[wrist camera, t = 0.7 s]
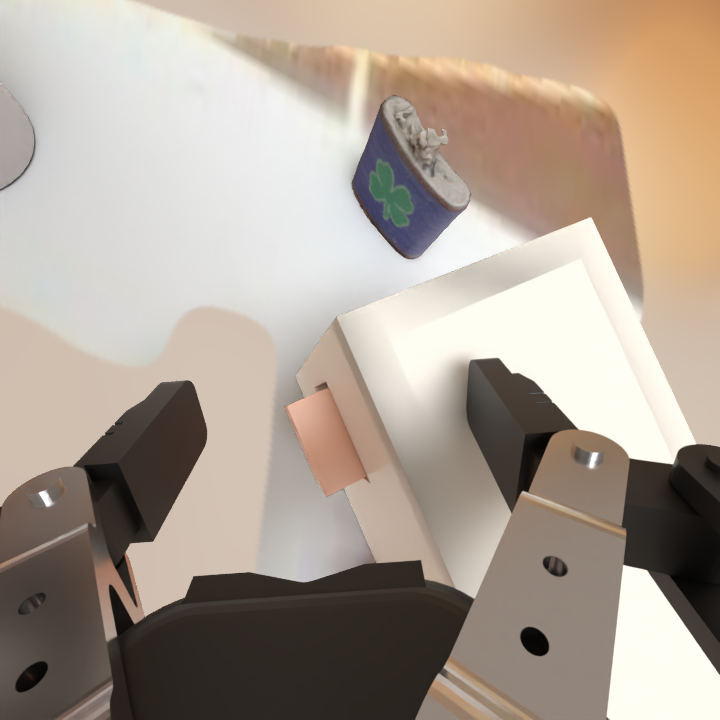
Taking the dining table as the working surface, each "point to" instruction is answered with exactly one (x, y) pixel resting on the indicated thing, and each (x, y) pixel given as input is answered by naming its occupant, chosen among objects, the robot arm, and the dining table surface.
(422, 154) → the flask
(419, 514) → the button panel
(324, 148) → the dining table surface
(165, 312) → the dining table surface
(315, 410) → the terracotta button
